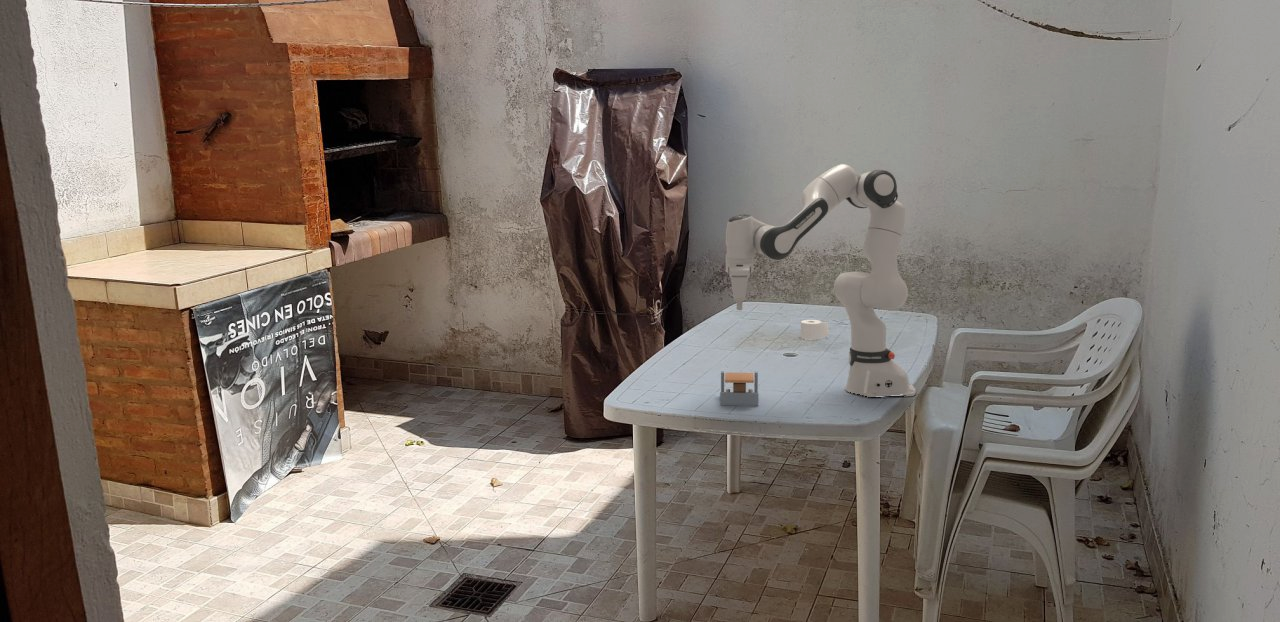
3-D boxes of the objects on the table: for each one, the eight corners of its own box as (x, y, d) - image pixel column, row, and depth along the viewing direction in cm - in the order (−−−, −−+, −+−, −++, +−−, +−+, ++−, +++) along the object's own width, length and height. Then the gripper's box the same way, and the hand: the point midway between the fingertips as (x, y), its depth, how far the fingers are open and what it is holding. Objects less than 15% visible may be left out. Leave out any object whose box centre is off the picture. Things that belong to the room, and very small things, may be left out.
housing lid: (753, 375, 318) (753, 372, 317) (753, 383, 306) (753, 380, 306) (725, 375, 318) (725, 372, 318) (724, 382, 307) (724, 379, 307)
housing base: (757, 396, 319) (757, 371, 318) (758, 405, 309) (758, 380, 307) (720, 395, 320) (720, 371, 319) (720, 405, 310) (720, 380, 308)
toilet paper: (829, 337, 402) (830, 320, 400) (813, 341, 394) (813, 324, 393) (813, 334, 408) (813, 317, 406) (796, 338, 400) (797, 321, 399)
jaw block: (745, 399, 310) (745, 384, 309) (733, 399, 311) (733, 383, 310) (745, 395, 314) (745, 380, 313) (733, 395, 315) (733, 380, 314)
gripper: (730, 261, 320) (729, 303, 323) (729, 271, 300) (729, 315, 303) (749, 261, 319) (749, 303, 322) (749, 271, 299) (749, 315, 302)
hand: (739, 309), depth 312 cm, fingers closed
